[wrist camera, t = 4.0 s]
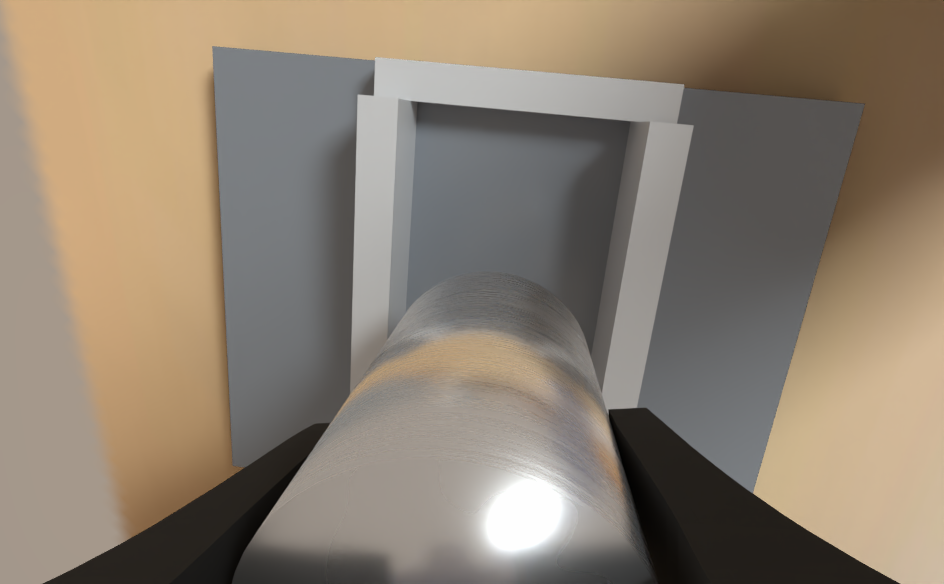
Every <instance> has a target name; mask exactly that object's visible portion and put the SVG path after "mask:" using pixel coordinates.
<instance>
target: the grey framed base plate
mask: <svg viewBox="0 0 944 584" xmlns="http://www.w3.org/2000/svg"><path fill="white" fill-rule="evenodd" d="M212 48H213V69H214V89H215V110H216V131H217V151H218V172H219V193H220V213H221V234H222V255H223V275H224V296H225V317H226V337H227V358H228V379H229V399H230V420H231V441H232V461H233V466H238V467H247V466H248V465H250V464H251V463H253V462H254V461H256V460H257V459H259V458H260V457H262V456H263V455H265V454H266V453H268V452H269V451H271V450H272V449H274V448H275V447H277V446H278V445H280V444H281V443H283V442H284V441H286V440H288V439H289V438H291V437H292V436H294V435H296V434H297V433H299V432H300V431H302V430H304V429H306V428H308V427H309V426H311V425H313V424H315V423H331V422H332V421H333V419H334V418H335V416H336V415H337V413H338V412H339V410H340V409H341V407H342V406H343V404H344V403H345V401H346V400H347V398H348V397H349V395H350V394H351V393H352V391H353V390H354V388H355V387H356V385H357V384H358V382H359V381H360V379H361V378H362V376H363V375H364V373H365V372H366V370H367V369H368V368H369V366H370V365H371V363H372V362H373V360H374V359H375V357H376V356H377V354H378V353H379V351H380V350H381V348H382V347H383V345H384V344H385V343H386V341H387V340H388V338H389V337H390V335H391V334H392V332H393V331H394V329H395V328H396V326H397V325H398V323H399V322H400V320H401V319H402V317H403V316H404V315H405V313H406V312H407V310H408V309H409V308H410V306H411V305H412V304H413V303H414V302H415V301H416V300H417V299H418V298H419V297H420V296H421V295H422V294H424V293H425V292H426V291H427V290H429V289H430V288H432V287H433V286H435V285H437V284H438V283H441V282H443V281H445V280H447V279H449V278H452V277H455V276H459V275H462V274H467V273H473V272H486V271H490V272H503V273H507V274H512V275H517V276H519V277H522V278H525V279H528V280H530V281H532V282H534V283H536V284H538V285H541V286H542V287H544V288H545V289H547V290H548V291H550V292H551V293H553V294H554V295H555V296H556V297H557V298H558V299H559V300H561V301H562V302H563V303H564V304H565V306H566V307H567V308H568V309H569V310H570V311H571V313H572V314H573V316H574V317H575V319H576V320H577V322H578V323H579V325H580V328H581V330H582V332H583V334H584V337H585V340H586V343H587V346H588V350H589V353H590V356H591V360H592V363H593V366H594V370H595V373H596V376H597V379H598V383H599V386H600V389H601V393H602V396H603V399H604V403H605V406H606V409H607V413H608V409H626V408H647V409H649V410H650V411H651V412H652V413H653V414H655V415H656V416H657V417H658V418H659V419H660V420H661V421H663V422H664V423H665V424H666V425H667V426H668V427H669V428H671V429H672V430H673V431H674V432H675V433H676V434H678V435H679V436H680V437H681V438H682V439H683V440H685V441H686V442H687V443H688V444H689V445H691V446H692V447H693V448H694V449H695V450H697V451H698V452H699V453H700V454H701V455H703V456H704V457H705V458H706V459H708V460H709V461H710V462H711V463H713V464H714V465H715V466H716V467H718V468H719V469H720V470H722V471H723V472H724V473H726V474H727V475H728V476H729V477H731V478H732V479H734V480H735V481H736V482H738V483H739V484H740V485H742V486H743V487H744V488H746V489H747V490H748V491H750V492H751V493H753V491H754V487H755V484H756V480H757V477H758V473H759V470H760V466H761V463H762V459H763V456H764V452H765V449H766V445H767V442H768V439H769V435H770V432H771V428H772V425H773V421H774V418H775V414H776V411H777V407H778V404H779V400H780V397H781V393H782V390H783V386H784V383H785V380H786V376H787V373H788V369H789V366H790V362H791V359H792V355H793V352H794V348H795V345H796V341H797V338H798V334H799V331H800V328H801V324H802V321H803V317H804V314H805V310H806V307H807V303H808V300H809V296H810V293H811V289H812V286H813V282H814V279H815V275H816V272H817V269H818V265H819V262H820V258H821V255H822V251H823V248H824V244H825V241H826V237H827V234H828V230H829V227H830V223H831V220H832V216H833V213H834V210H835V206H836V203H837V199H838V196H839V192H840V189H841V185H842V182H843V178H844V175H845V171H846V168H847V164H848V161H849V157H850V154H851V151H852V147H853V144H854V140H855V137H856V133H857V130H858V126H859V123H860V119H861V116H862V112H863V109H864V105H865V104H862V103H850V102H839V101H828V100H816V99H805V98H793V97H782V96H771V95H759V94H748V93H737V92H725V91H714V90H703V89H691V88H684V85H685V84H675V83H663V82H652V81H641V80H629V79H618V78H606V77H595V76H584V75H572V74H561V73H549V72H538V71H527V70H515V69H504V68H492V67H481V66H470V65H458V64H447V63H435V62H424V61H413V60H401V59H390V58H378V57H375V61H374V60H362V59H351V58H340V57H328V56H317V55H306V54H294V53H283V52H272V51H260V50H249V49H237V48H226V47H215V46H212ZM608 416H609V414H608Z"/></svg>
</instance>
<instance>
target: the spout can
mask: <svg viewBox="0 0 944 584" xmlns="http://www.w3.org/2000/svg"><path fill="white" fill-rule="evenodd" d="M232 584H659V582H658V579H657V576H656V572H655V569H654V566H653V562H652V559H651V556H650V552H649V549H648V546H647V542H646V539H645V536H644V533H643V529H642V526H641V523H640V519H639V516H638V513H637V509H636V506H635V503H634V499H633V496H632V493H631V489H630V486H629V483H628V479H627V476H626V473H625V469H624V466H623V463H622V459H621V456H620V453H619V449H618V446H617V443H616V439H615V436H614V433H613V429H612V426H611V423H610V419H609V416H608V413H607V409H606V406H605V403H604V399H603V396H602V393H601V389H600V386H599V383H598V379H597V376H596V373H595V370H594V366H593V363H592V360H591V356H590V353H589V350H588V346H587V343H586V340H585V337H584V334H583V332H582V330H581V328H580V325H579V323H578V322H577V320H576V319H575V317H574V316H573V314H572V313H571V311H570V310H569V309H568V308H567V307H566V306H565V304H564V303H563V302H562V301H561V300H559V299H558V298H557V297H556V296H555V295H554V294H553V293H551V292H550V291H548V290H547V289H545V288H544V287H542V286H541V285H538V284H536V283H534V282H532V281H530V280H528V279H525V278H522V277H519V276H517V275H512V274H507V273H503V272H490V271H486V272H473V273H467V274H462V275H459V276H455V277H452V278H449V279H447V280H445V281H443V282H441V283H438V284H437V285H435V286H433V287H432V288H430V289H429V290H427V291H426V292H425V293H424V294H422V295H421V296H420V297H419V298H418V299H417V300H416V301H415V302H414V303H413V304H412V305H411V306H410V308H409V309H408V310H407V312H406V313H405V315H404V316H403V317H402V319H401V320H400V322H399V323H398V325H397V326H396V328H395V329H394V331H393V332H392V334H391V335H390V337H389V338H388V340H387V341H386V343H385V344H384V345H383V347H382V348H381V350H380V351H379V353H378V354H377V356H376V357H375V359H374V360H373V362H372V363H371V365H370V366H369V368H368V369H367V370H366V372H365V373H364V375H363V376H362V378H361V379H360V381H359V382H358V384H357V385H356V387H355V388H354V390H353V391H352V393H351V394H350V395H349V397H348V398H347V400H346V401H345V403H344V404H343V406H342V407H341V409H340V410H339V412H338V413H337V415H336V416H335V418H334V419H333V421H332V422H331V423H330V425H329V426H328V428H327V429H326V431H325V432H324V434H323V435H322V437H321V438H320V440H319V441H318V443H317V444H316V446H315V447H314V448H313V450H312V451H311V453H310V454H309V456H308V457H307V459H306V460H305V462H304V463H303V465H302V466H301V468H300V469H299V471H298V472H297V474H296V475H295V476H294V478H293V479H292V481H291V482H290V484H289V485H288V487H287V488H286V490H285V491H284V493H283V494H282V496H281V497H280V499H279V500H278V501H277V503H276V504H275V506H274V507H273V509H272V510H271V512H270V513H269V515H268V516H267V518H266V519H265V521H264V522H263V524H262V525H261V527H260V528H259V529H258V531H257V532H256V534H255V535H254V537H253V539H252V540H251V542H250V543H249V545H248V546H247V548H246V549H245V551H244V552H243V555H242V557H241V559H240V562H239V564H238V566H237V569H236V571H235V573H234V577H233V581H232Z"/></svg>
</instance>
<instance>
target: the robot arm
mask: <svg viewBox="0 0 944 584" xmlns="http://www.w3.org/2000/svg"><path fill="white" fill-rule="evenodd" d="M608 414H609V419H610V423H611V426H612V429H613V433H614V436H615V439H616V443H617V446H618V449H619V453H620V456H621V459H622V463H623V466H624V469H625V473H626V476H627V479H628V483H629V486H630V489H631V493H632V496H633V499H634V503H635V506H636V509H637V513H638V516H639V519H640V523H641V526H642V529H643V533H644V536H645V539H646V542H647V546H648V549H649V552H650V556H651V559H652V562H653V566H654V569H655V572H656V576H657V579H658V582H659V584H900V583H898V582H896V581H894V580H892V579H890V578H889V577H887V576H885V575H883V574H881V573H879V572H878V571H876V570H874V569H872V568H870V567H869V566H867V565H865V564H863V563H861V562H860V561H858V560H856V559H855V558H853V557H851V556H850V555H848V554H846V553H845V552H843V551H841V550H839V549H838V548H836V547H834V546H833V545H831V544H829V543H828V542H826V541H824V540H823V539H821V538H819V537H818V536H816V535H814V534H813V533H811V532H809V531H808V530H806V529H805V528H803V527H801V526H800V525H798V524H797V523H795V522H794V521H792V520H791V519H789V518H787V517H786V516H784V515H783V514H781V513H780V512H779V511H777V510H776V509H774V508H773V507H771V506H770V505H769V504H767V503H766V502H764V501H763V500H761V499H760V498H758V497H757V496H756V495H754V494H753V493H751V492H750V491H748V490H747V489H746V488H744V487H743V486H742V485H740V484H739V483H738V482H736V481H735V480H734V479H732V478H731V477H729V476H728V475H727V474H726V473H724V472H723V471H722V470H720V469H719V468H718V467H716V466H715V465H714V464H713V463H711V462H710V461H709V460H708V459H706V458H705V457H704V456H703V455H701V454H700V453H699V452H698V451H697V450H695V449H694V448H693V447H692V446H691V445H689V444H688V443H687V442H686V441H685V440H683V439H682V438H681V437H680V436H679V435H678V434H676V433H675V432H674V431H673V430H672V429H671V428H669V427H668V426H667V425H666V424H665V423H664V422H663V421H661V420H660V419H659V418H658V417H657V416H656V415H655V414H653V413H652V412H651V411H650V410H649V409H647V408H626V409H608ZM329 425H330V423H315V424H313V425H311V426H309V427H308V428H306V429H304V430H302V431H300V432H299V433H297V434H296V435H294V436H292V437H291V438H289V439H288V440H286V441H284V442H283V443H281V444H280V445H278V446H277V447H275V448H274V449H272V450H271V451H269V452H268V453H266V454H265V455H263V456H262V457H260V458H259V459H257V460H256V461H254V462H253V463H251V464H250V465H248V466H247V467H245V468H244V469H242V470H241V471H239V472H238V473H236V474H235V475H233V476H232V477H230V478H229V479H227V480H226V481H224V482H223V483H221V484H219V485H218V486H216V487H215V488H213V489H212V490H210V491H208V492H207V493H205V494H204V495H202V496H200V497H199V498H197V499H195V500H194V501H192V502H191V503H189V504H187V505H186V506H184V507H182V508H181V509H179V510H178V511H176V512H174V513H173V514H171V515H170V516H168V517H166V518H165V519H163V520H161V521H160V522H158V523H157V524H155V525H153V526H151V527H150V528H148V529H146V530H145V531H143V532H141V533H139V534H138V535H136V536H134V537H132V538H130V539H129V540H127V541H125V542H123V543H121V544H120V545H118V546H116V547H114V548H112V549H110V550H108V551H107V552H105V553H103V554H101V555H99V556H97V557H95V558H93V559H91V560H89V561H87V562H86V563H84V564H82V565H80V566H78V567H76V568H74V569H72V570H70V571H68V572H66V573H64V574H62V575H60V576H58V577H56V578H54V579H52V580H50V581H47V582H45V583H43V584H232V581H233V577H234V573H235V571H236V569H237V566H238V564H239V562H240V559H241V557H242V555H243V552H244V551H245V549H246V548H247V546H248V545H249V543H250V542H251V540H252V539H253V537H254V535H255V534H256V532H257V531H258V529H259V528H260V527H261V525H262V524H263V522H264V521H265V519H266V518H267V516H268V515H269V513H270V512H271V510H272V509H273V507H274V506H275V504H276V503H277V501H278V500H279V499H280V497H281V496H282V494H283V493H284V491H285V490H286V488H287V487H288V485H289V484H290V482H291V481H292V479H293V478H294V476H295V475H296V474H297V472H298V471H299V469H300V468H301V466H302V465H303V463H304V462H305V460H306V459H307V457H308V456H309V454H310V453H311V451H312V450H313V448H314V447H315V446H316V444H317V443H318V441H319V440H320V438H321V437H322V435H323V434H324V432H325V431H326V429H327V428H328V426H329Z"/></svg>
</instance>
